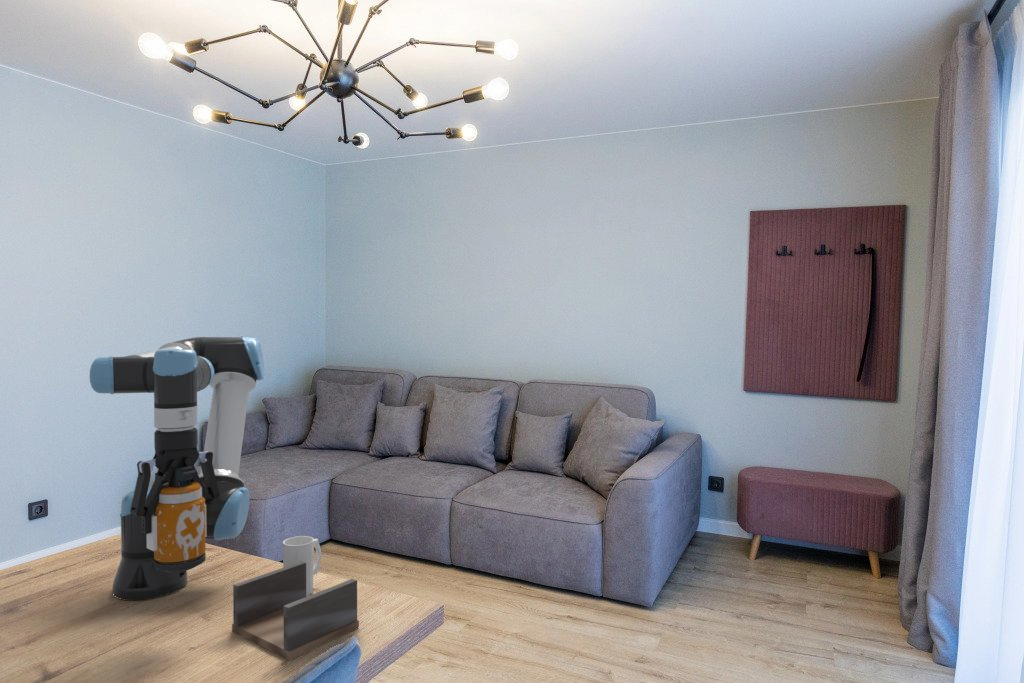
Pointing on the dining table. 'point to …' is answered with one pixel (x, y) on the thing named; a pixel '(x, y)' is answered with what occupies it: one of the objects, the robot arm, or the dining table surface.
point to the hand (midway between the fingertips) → (177, 542)
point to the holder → (292, 611)
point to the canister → (180, 523)
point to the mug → (303, 556)
